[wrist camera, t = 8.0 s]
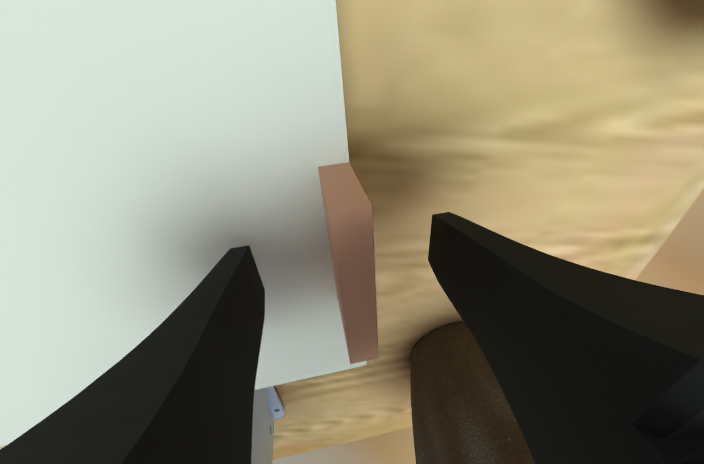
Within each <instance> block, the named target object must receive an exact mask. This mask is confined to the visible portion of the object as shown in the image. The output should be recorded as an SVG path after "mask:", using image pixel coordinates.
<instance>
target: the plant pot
mask: <svg viewBox="0 0 704 464" xmlns="http://www.w3.org/2000/svg"><path fill="white" fill-rule="evenodd" d="M411 407H412V423H413V436H414V447H415V456H416V464H535V462H534V459H533V457H532V455H531V452H530V450H529V448H528V445H527V443H526V441H525V438H524V436H523V434H522V432H521V430H520V428H519V425H518V423H517V421H516V419H515V417H514V414H513V412H512V410H511V408H510V406H509V404H508V401H507V399H506V397H505V395H504V393H503V391H502V389H501V387H500V385H499V383H498V381H497V379H496V377H495V375H494V373H493V371H492V369H491V367H490V365H489V363H488V361H487V360H486V358H485V356H484V354H483V352H482V350H481V348H480V346H479V345H478V343H477V341H476V340H475V338H474V336H473V334H472V333H471V331H470V330H469V328H468V327H467V325H466V324H465V322H460V323H453V324H449V325H446V326H443V327H441V328H438V329H436V330H434V331H432V332H431V333H429V334H428V335H426V336H425V337H424V338H423V339H422V340H421V341H420V342H418V343H417V345H416V346H415V348H414V349H413V351H412V354H411Z"/></svg>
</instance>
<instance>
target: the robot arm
mask: <svg viewBox="0 0 704 464" xmlns="http://www.w3.org/2000/svg"><path fill="white" fill-rule="evenodd" d="M428 261H429V263H430V265H431V267H432V270H433V272H434V274H435V276H436V278H437V280H438V282H439V284H440V285H441V287H442V289H443V290H444V292H445V293H446V295H447V296H448V298H449V299H450V301H451V302H452V304H453V306H454V307H455V309H456V310H457V312H458V313H459V315H460V316H461V318H462V319H463V321H464V322H465V324H466V325H467V327H468V328H469V330H470V331H471V333H472V334H473V336H474V338H475V340H476V341H477V343H478V345H479V346H480V348H481V350H482V352H483V354H484V356H485V358H486V360H487V361H488V363H489V365H490V367H491V369H492V371H493V373H494V375H495V377H496V379H497V381H498V383H499V385H500V387H501V389H502V391H503V393H504V395H505V397H506V399H507V401H508V404H509V406H510V408H511V410H512V412H513V414H514V417H515V419H516V421H517V423H518V425H519V428H520V430H521V432H522V434H523V436H524V438H525V441H526V443H527V445H528V448H529V450H530V452H531V455H532V457H533V459H534V462H535V464H704V295H698V294H694V293H689V292H684V291H680V290H675V289H670V288H665V287H661V286H656V285H652V284H648V283H644V282H639V281H635V280H631V279H627V278H624V277H620V276H616V275H613V274H609V273H605V272H601V271H598V270H594V269H591V268H588V267H584V266H581V265H578V264H575V263H572V262H569V261H566V260H563V259H560V258H557V257H554V256H551V255H548V254H546V253H543V252H540V251H538V250H535V249H533V248H530V247H528V246H525V245H523V244H520V243H518V242H516V241H513V240H511V239H509V238H506V237H504V236H502V235H500V234H497V233H495V232H493V231H491V230H489V229H486V228H484V227H482V226H480V225H478V224H476V223H473V222H471V221H469V220H467V219H465V218H462V217H460V216H458V215H455V214H452V213H450V212H447V213H441V214H435V215H432V224H431V235H430V245H429V255H428ZM264 318H265V289H264V286H263V283H262V280H261V277H260V274H259V272H258V269H257V266H256V263H255V260H254V257H253V255H252V252H251V249H250V246H249V245H248V246H242V247H236V248H230V249H229V250H228V251H227V252H226V254H225V255H224V256H223V257H222V258H221V259H220V260H219V262H218V263H217V264H216V265H215V266H214V267H213V269H212V270H211V271H210V272H209V273H208V274H207V276H206V277H205V278H204V279H203V280H202V281H201V282H200V283H199V285H198V286H197V287H196V288H195V289H194V290H193V291H192V292H191V294H190V295H189V296H188V297H187V298H186V299H185V300H184V301H183V302H182V303H181V304H180V305H179V306H178V307H177V308H176V309H175V310H174V311H173V312H172V313H171V314H170V315H169V316H168V317H167V318H166V319H165V320H164V321H163V322H162V323H161V324H160V325H159V326H158V327H157V328H156V329H155V330H154V331H153V332H152V333H151V334H150V335H149V336H147V337H146V338H145V339H144V340H143V341H142V342H141V343H140V344H138V345H137V346H136V347H135V348H134V349H133V350H132V351H130V352H129V353H128V354H127V355H126V356H125V357H123V358H122V359H121V360H120V361H119V362H117V363H116V364H115V365H114V366H112V367H111V368H110V369H109V370H107V371H106V372H105V373H104V374H102V375H101V376H100V377H99V378H97V379H96V380H95V381H94V382H92V383H91V384H90V385H89V386H87V387H86V388H85V389H84V390H82V391H81V392H80V393H78V394H77V395H76V396H75V397H73V398H72V399H71V400H69V401H68V402H67V403H65V404H64V405H62V406H61V407H60V408H58V409H57V410H56V411H54V412H53V413H52V414H50V415H49V416H48V417H46V418H45V419H43V420H42V421H41V422H39V423H38V424H36V425H35V426H34V427H32V428H31V429H29V430H28V431H26V432H25V433H24V434H22V435H21V436H19V437H18V438H17V439H15V440H14V441H12V442H11V443H9V444H8V445H7V446H5V447H4V448H2V449H1V450H0V464H272V456H273V434H274V419H277V418H281V417H283V416H284V415H285V410H284V407H283V405H282V403H281V401H280V398H279V396H278V394H277V392H276V390H275V387H274V386H270V387H266V388H261V389H257V390H255V381H256V374H257V367H258V360H259V353H260V346H261V340H262V332H263V325H264Z"/></svg>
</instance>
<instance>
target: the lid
mask: <svg viewBox="0 0 704 464" xmlns="http://www.w3.org/2000/svg"><path fill="white" fill-rule="evenodd" d="M248 245H249V246H250V249H251V252H252V255H253V257H254V260H255V263H256V266H257V269H258V272H259V274H260V277H261V280H262V283H263V286H264V289H265V318H264V325H263V332H262V340H261V346H260V353H259V360H258V367H257V374H256V381H255V390H257V389H261V388H266V387H270V386H275V385H279V384H284V383H288V382H293V381H297V380H302V379H306V378H311V377H315V376H320V375H324V374H329V373H333V372H338V371H342V370H347V369H351V368H356V367H360V366H365V365H366V361H368V360H372V359H377V358H379V357H378V333H377V309H376V285H375V261H374V237H373V213H372V205H371V203H370V201H369V199H368V197H367V195H366V193H365V191H364V189H363V187H362V186H361V184H360V182H359V180H358V178H357V176H356V174H355V172H354V170H353V168H352V167H351V165H350V163H349V153H348V141H347V129H346V118H345V106H344V94H343V82H342V70H341V59H340V47H339V35H338V23H337V12H336V0H0V446H4V445H8V444H9V443H11V442H12V441H14V440H15V439H17V438H18V437H19V436H21V435H22V434H24V433H25V432H26V431H28V430H29V429H31V428H32V427H34V426H35V425H36V424H38V423H39V422H41V421H42V420H43V419H45V418H46V417H48V416H49V415H50V414H52V413H53V412H54V411H56V410H57V409H58V408H60V407H61V406H62V405H64V404H65V403H67V402H68V401H69V400H71V399H72V398H73V397H75V396H76V395H77V394H78V393H80V392H81V391H82V390H84V389H85V388H86V387H87V386H89V385H90V384H91V383H92V382H94V381H95V380H96V379H97V378H99V377H100V376H101V375H102V374H104V373H105V372H106V371H107V370H109V369H110V368H111V367H112V366H114V365H115V364H116V363H117V362H119V361H120V360H121V359H122V358H123V357H125V356H126V355H127V354H128V353H129V352H130V351H132V350H133V349H134V348H135V347H136V346H137V345H138V344H140V343H141V342H142V341H143V340H144V339H145V338H146V337H147V336H149V335H150V334H151V333H152V332H153V331H154V330H155V329H156V328H157V327H158V326H159V325H160V324H161V323H162V322H163V321H164V320H165V319H166V318H167V317H168V316H169V315H170V314H171V313H172V312H173V311H174V310H175V309H176V308H177V307H178V306H179V305H180V304H181V303H182V302H183V301H184V300H185V299H186V298H187V297H188V296H189V295H190V294H191V292H192V291H193V290H194V289H195V288H196V287H197V286H198V285H199V283H200V282H201V281H202V280H203V279H204V278H205V277H206V276H207V274H208V273H209V272H210V271H211V270H212V269H213V267H214V266H215V265H216V264H217V263H218V262H219V260H220V259H221V258H222V257H223V256H224V255H225V254H226V252H227V251H228V250H229V249H230V248H236V247H242V246H248Z"/></svg>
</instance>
